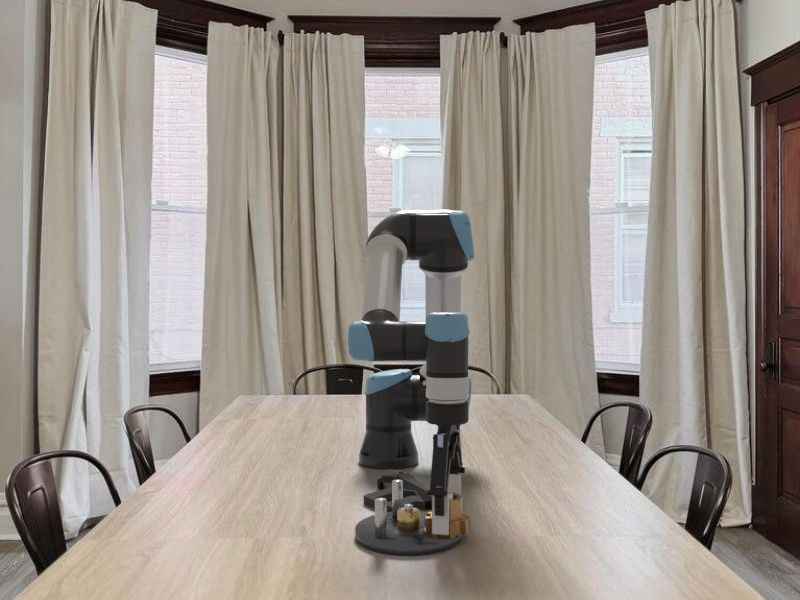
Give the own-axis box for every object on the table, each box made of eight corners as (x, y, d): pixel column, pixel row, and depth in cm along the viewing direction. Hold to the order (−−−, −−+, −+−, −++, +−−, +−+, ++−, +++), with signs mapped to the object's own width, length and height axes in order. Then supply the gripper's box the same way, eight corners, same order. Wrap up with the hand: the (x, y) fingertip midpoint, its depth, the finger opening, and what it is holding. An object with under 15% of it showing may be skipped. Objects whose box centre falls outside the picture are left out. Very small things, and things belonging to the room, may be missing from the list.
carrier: (371, 515, 138) (371, 474, 138) (468, 522, 133) (468, 480, 133) (341, 550, 119) (340, 503, 119) (452, 560, 115) (452, 511, 115)
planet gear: (429, 521, 129) (429, 489, 129) (472, 524, 127) (472, 491, 127) (421, 536, 122) (421, 501, 122) (466, 539, 120) (466, 504, 120)
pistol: (373, 508, 137) (447, 501, 140) (348, 475, 161) (411, 470, 165) (373, 520, 137) (447, 513, 140) (348, 484, 161) (411, 479, 165)
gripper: (438, 389, 137) (438, 499, 137) (410, 411, 113) (411, 543, 113) (477, 391, 135) (477, 501, 136) (457, 412, 111) (457, 547, 112)
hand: (447, 521), depth 124 cm, fingers open, 13 cm apart
